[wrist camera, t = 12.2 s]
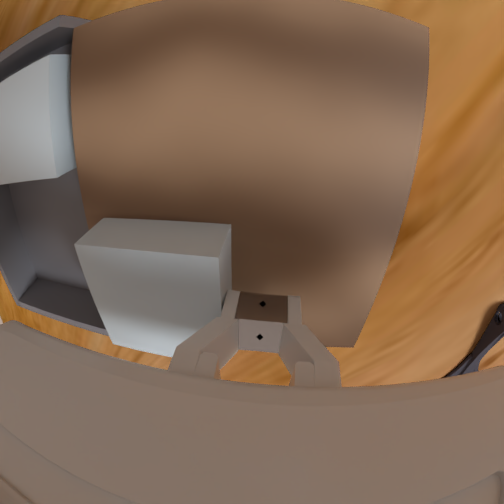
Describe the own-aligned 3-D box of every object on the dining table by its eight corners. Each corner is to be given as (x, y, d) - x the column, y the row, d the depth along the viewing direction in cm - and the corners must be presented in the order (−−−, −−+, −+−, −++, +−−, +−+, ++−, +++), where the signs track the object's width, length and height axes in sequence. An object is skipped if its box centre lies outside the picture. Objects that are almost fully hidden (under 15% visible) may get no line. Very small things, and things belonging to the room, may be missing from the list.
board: (104, 33, 8) (73, 28, 6) (403, 37, 8) (428, 27, 5) (132, 293, 17) (116, 319, 15) (347, 316, 16) (353, 347, 14)
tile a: (16, 84, 9) (-11, 90, 7) (81, 54, 9) (49, 54, 7) (24, 171, 12) (-2, 184, 10) (86, 162, 12) (57, 177, 10)
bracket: (539, 288, 14) (553, 306, 12) (482, 379, 22) (488, 395, 19) (440, 305, 16) (453, 332, 14) (389, 402, 24) (392, 423, 21)
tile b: (103, 217, 11) (74, 244, 9) (231, 224, 11) (218, 257, 9) (130, 313, 14) (113, 343, 12) (232, 328, 14) (224, 365, 12)
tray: (0, 75, 9) (-36, 84, 6) (105, 23, 8) (60, 14, 5) (39, 279, 18) (17, 305, 15) (134, 299, 17) (112, 337, 14)
